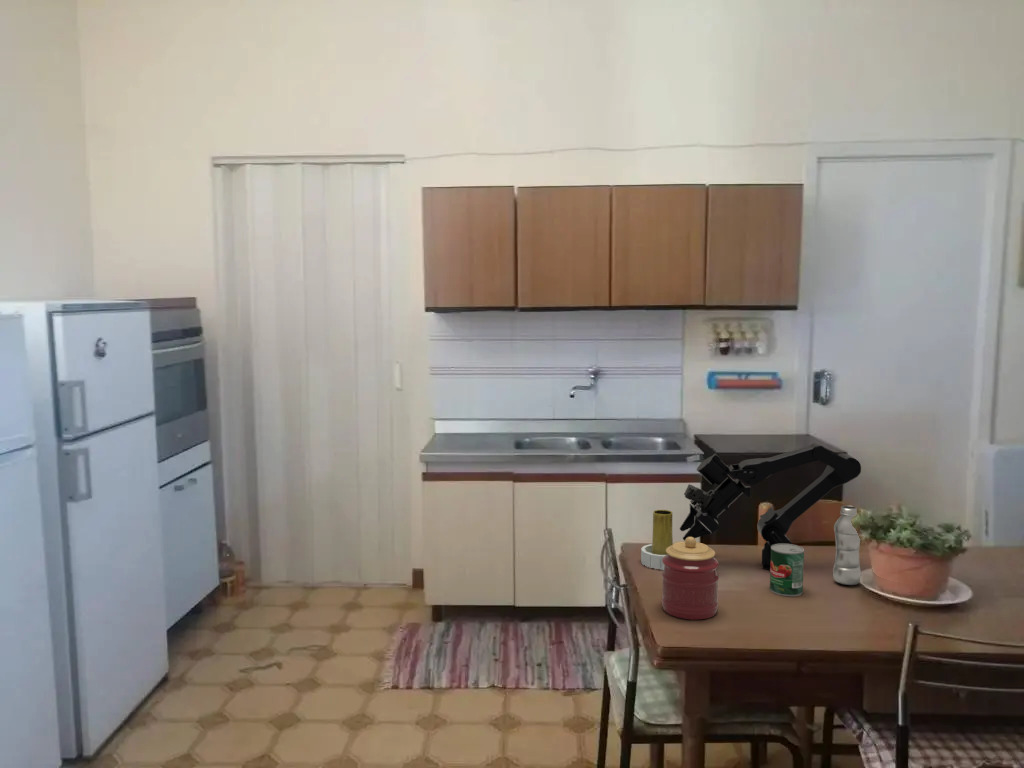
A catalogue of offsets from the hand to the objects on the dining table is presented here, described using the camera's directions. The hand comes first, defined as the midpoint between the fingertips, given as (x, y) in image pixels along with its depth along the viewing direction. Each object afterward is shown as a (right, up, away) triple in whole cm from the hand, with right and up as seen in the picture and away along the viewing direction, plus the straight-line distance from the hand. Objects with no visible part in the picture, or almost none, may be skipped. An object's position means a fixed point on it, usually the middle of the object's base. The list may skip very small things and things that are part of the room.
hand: (682, 534), depth 211 cm
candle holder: (-5, -8, +1) cm, 10 cm away
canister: (-5, -12, -31) cm, 34 cm away
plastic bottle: (+39, -10, -15) cm, 43 cm away
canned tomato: (+22, -10, -20) cm, 31 cm away
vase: (-5, -8, +1) cm, 10 cm away
